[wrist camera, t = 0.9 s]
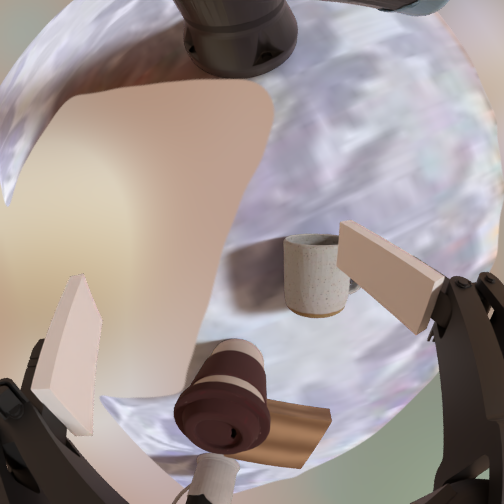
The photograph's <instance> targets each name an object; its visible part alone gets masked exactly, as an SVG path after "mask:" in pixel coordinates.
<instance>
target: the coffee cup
mask: <svg viewBox="0 0 504 504" xmlns="http://www.w3.org/2000/svg"><path fill="white" fill-rule="evenodd" d="M174 418H175V422H176V424H177V426H178V428H179V429H180V430H181V431H182V433H183V434H184V435H185V436H186V437H188V438H189V440H190V441H191V442H192V443H194V444H195V445H196V446H198V447H199V448H201V449H203V450H205V451H208V452H211V453H216V454H223V455H230V454H237V453H240V452H244V451H248V450H251V449H253V448H255V447H257V446H259V445H260V444H262V443H263V442H264V441H265V440H266V438H267V437H268V435H269V432H270V423H271V417H270V412H269V410H268V408H267V393H266V374H265V371H264V359H263V356H262V353H261V352H260V350H259V349H258V348H257V347H256V346H255V345H254V344H252V343H250V342H248V341H246V340H242V339H229V340H226V341H223V342H222V343H220V344H219V345H218V346H217V347H216V348H215V349H214V351H213V352H212V354H211V356H210V357H209V358H208V359H207V360H206V361H205V362H204V364H203V366H202V367H201V369H200V371H199V372H198V374H197V375H196V377H195V379H194V380H193V382H192V383H191V385H190V387H188V388H187V389H186V390H184V391H183V392H182V394H181V395H180V397H179V398H178V400H177V402H176V404H175V407H174Z"/></svg>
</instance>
